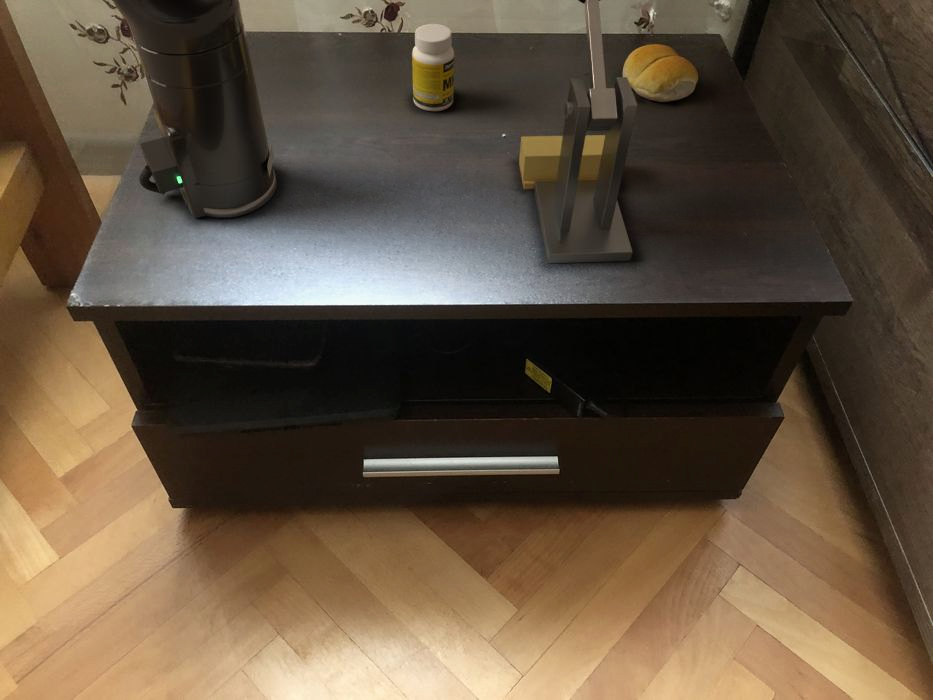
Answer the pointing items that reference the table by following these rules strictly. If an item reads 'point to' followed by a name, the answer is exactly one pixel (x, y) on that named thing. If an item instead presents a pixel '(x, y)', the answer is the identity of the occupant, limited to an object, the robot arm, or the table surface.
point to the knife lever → (598, 74)
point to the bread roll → (660, 73)
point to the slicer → (587, 186)
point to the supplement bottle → (433, 67)
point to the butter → (556, 158)
